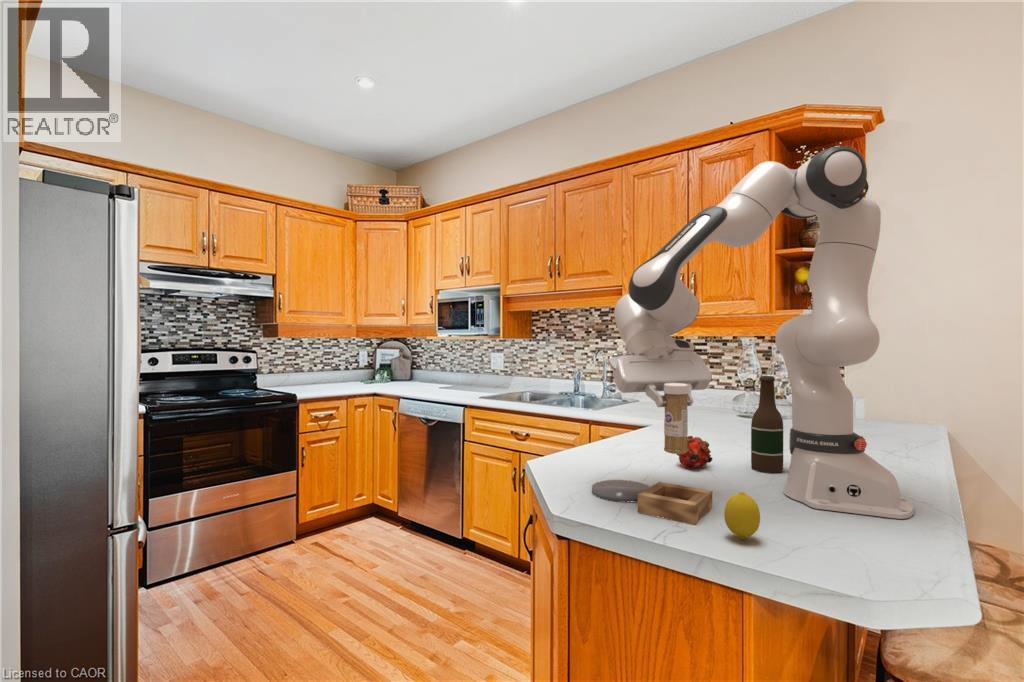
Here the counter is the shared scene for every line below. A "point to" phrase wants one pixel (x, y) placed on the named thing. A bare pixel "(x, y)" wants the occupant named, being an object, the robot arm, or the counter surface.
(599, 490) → the slate coaster
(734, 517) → the lemon
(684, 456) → the dragon fruit
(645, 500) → the frame
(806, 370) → the robot arm
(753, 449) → the beer bottle
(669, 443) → the sprinkles bottle
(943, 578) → the counter surface
